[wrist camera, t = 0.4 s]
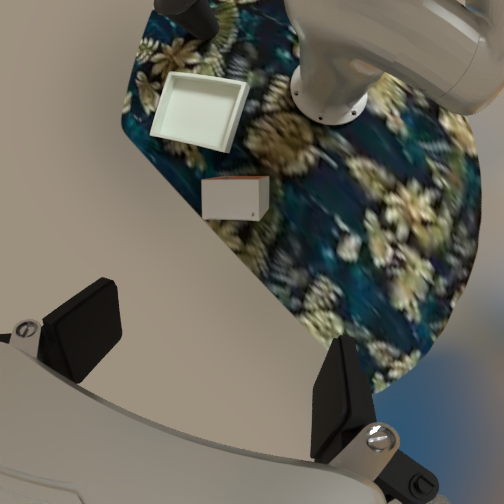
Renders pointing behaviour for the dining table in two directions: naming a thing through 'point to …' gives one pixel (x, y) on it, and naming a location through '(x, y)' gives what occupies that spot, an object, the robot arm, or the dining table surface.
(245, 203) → the small box
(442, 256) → the dining table surface
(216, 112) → the tray
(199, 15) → the drinking cup
